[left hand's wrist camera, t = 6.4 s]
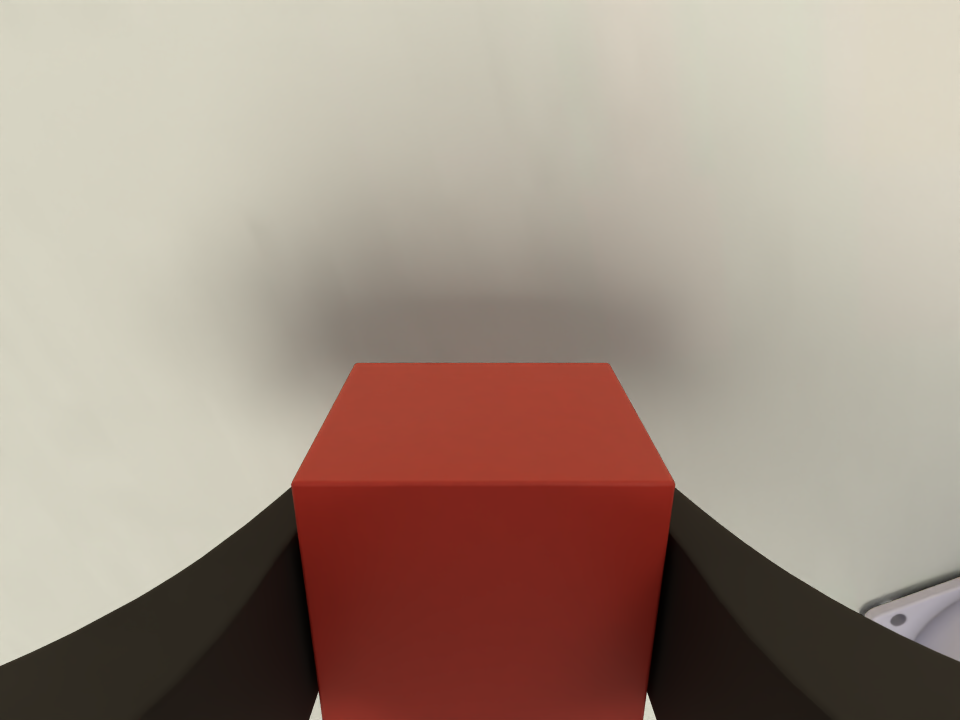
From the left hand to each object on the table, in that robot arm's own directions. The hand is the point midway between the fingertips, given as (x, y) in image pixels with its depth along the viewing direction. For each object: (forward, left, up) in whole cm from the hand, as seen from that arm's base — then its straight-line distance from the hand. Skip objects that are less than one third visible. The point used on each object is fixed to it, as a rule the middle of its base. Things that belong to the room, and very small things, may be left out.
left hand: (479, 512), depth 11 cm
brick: (0, 0, -1) cm, 1 cm away
